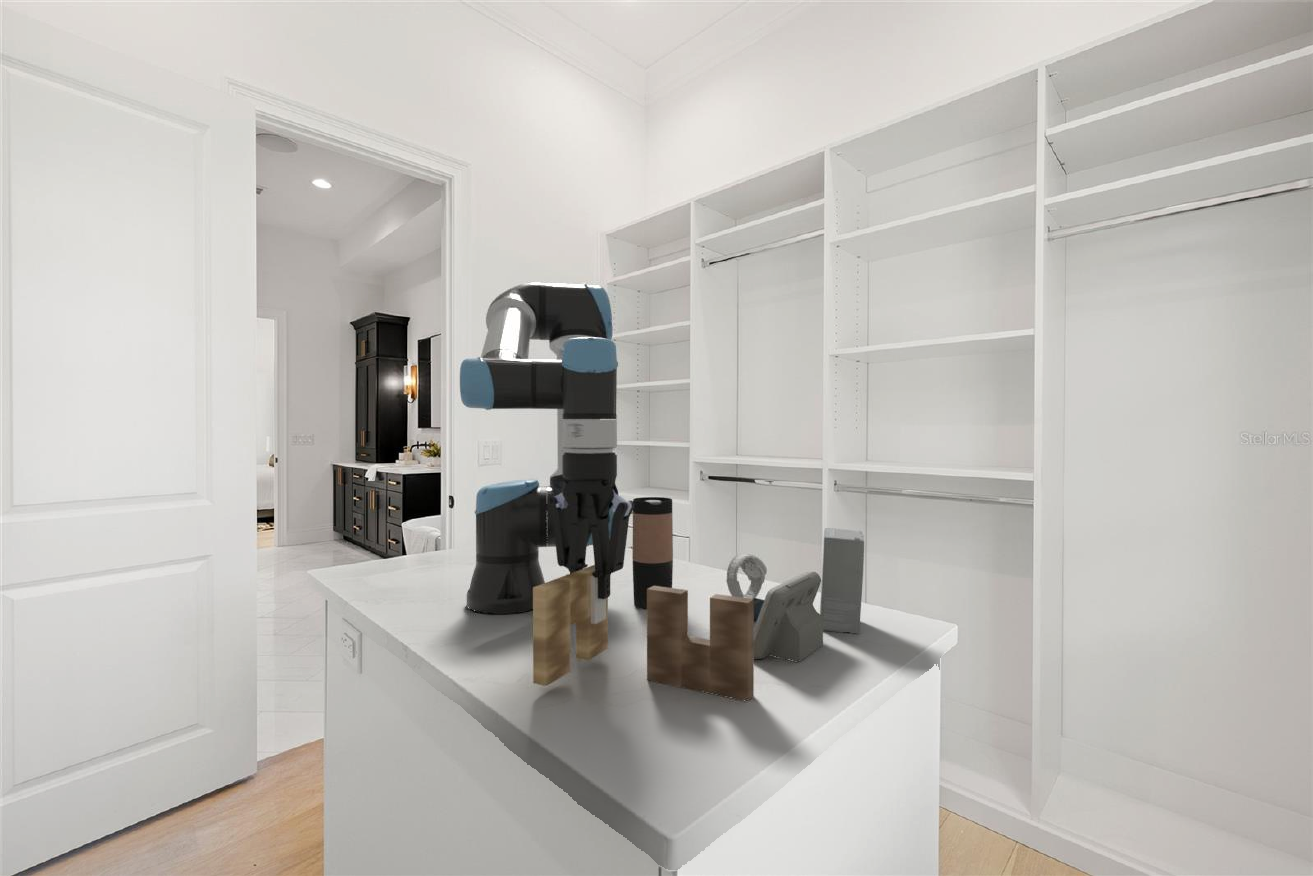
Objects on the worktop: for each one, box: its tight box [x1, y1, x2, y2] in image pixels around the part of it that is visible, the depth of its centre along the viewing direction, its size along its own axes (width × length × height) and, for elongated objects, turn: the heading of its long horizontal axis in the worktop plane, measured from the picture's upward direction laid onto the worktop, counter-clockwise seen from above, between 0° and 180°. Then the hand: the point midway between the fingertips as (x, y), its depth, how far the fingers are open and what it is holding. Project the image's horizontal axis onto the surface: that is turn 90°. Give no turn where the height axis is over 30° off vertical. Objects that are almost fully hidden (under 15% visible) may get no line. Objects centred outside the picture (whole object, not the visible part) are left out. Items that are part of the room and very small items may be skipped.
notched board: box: [532, 564, 609, 687], centre depth 82 cm, size 14×2×12 cm, turn 152°
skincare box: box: [819, 527, 865, 635], centre depth 103 cm, size 8×7×16 cm
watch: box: [725, 553, 768, 623], centre depth 108 cm, size 6×8×11 cm
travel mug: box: [631, 496, 674, 611], centre depth 115 cm, size 8×8×20 cm
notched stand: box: [646, 586, 755, 702], centre depth 78 cm, size 14×2×12 cm, turn 62°
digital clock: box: [754, 571, 824, 663], centre depth 92 cm, size 16×9×11 cm, turn 132°
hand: (590, 619), depth 85 cm, fingers closed on notched board, 2 cm apart
